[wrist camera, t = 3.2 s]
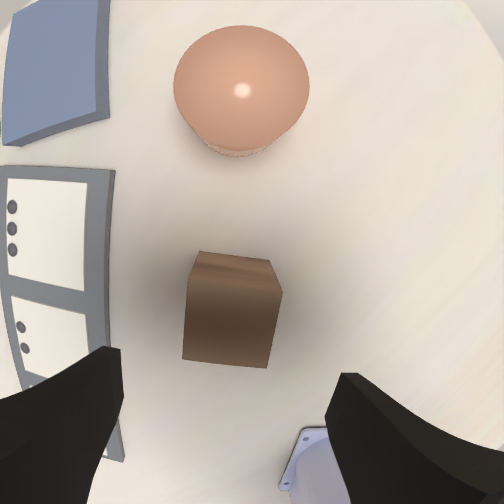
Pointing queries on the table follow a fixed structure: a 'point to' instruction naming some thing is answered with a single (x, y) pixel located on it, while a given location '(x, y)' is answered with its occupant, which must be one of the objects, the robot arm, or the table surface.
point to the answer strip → (55, 269)
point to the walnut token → (231, 310)
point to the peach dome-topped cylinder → (241, 88)
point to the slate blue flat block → (55, 69)
